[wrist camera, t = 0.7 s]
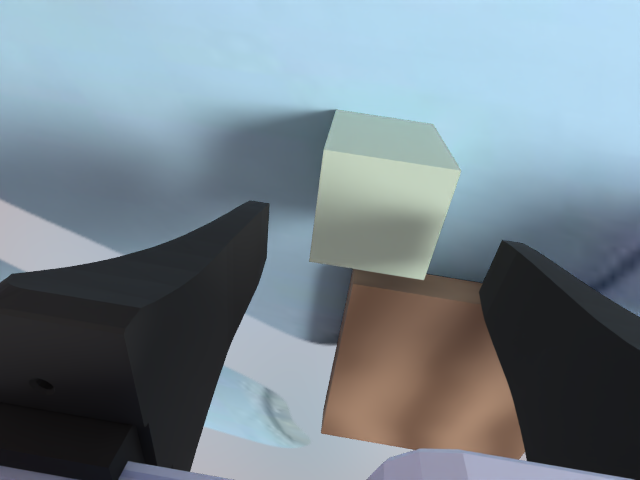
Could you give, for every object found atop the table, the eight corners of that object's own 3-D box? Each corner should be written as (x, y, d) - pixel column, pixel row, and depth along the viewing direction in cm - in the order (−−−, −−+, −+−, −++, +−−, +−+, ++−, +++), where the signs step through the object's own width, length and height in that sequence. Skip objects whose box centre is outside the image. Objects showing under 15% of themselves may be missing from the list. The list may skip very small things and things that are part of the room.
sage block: (432, 124, 17) (461, 170, 12) (408, 210, 19) (424, 280, 14) (336, 109, 17) (323, 149, 12) (323, 197, 20) (309, 261, 15)
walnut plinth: (599, 302, 21) (619, 327, 19) (504, 439, 28) (513, 467, 27) (354, 262, 21) (353, 283, 20) (323, 408, 29) (321, 433, 27)
